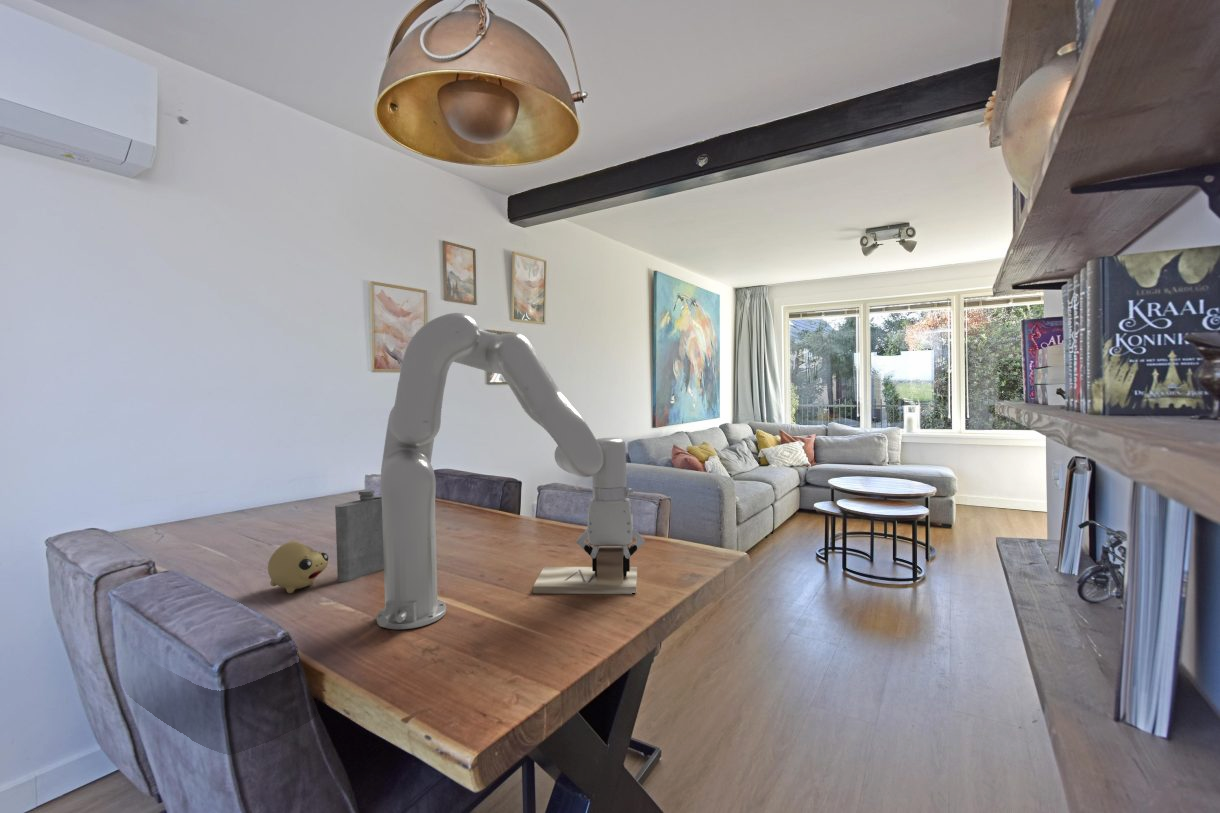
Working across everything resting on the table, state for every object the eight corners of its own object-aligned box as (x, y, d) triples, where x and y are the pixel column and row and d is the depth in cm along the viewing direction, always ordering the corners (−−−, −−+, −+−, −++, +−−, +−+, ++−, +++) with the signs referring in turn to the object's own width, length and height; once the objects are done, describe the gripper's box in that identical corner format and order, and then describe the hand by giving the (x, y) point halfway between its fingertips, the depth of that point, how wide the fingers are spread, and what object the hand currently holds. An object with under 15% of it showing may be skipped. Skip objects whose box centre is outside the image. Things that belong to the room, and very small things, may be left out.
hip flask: (342, 583, 126) (339, 496, 125) (333, 579, 128) (330, 494, 128) (403, 564, 139) (401, 485, 138) (394, 561, 141) (391, 484, 141)
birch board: (636, 593, 116) (636, 586, 116) (533, 593, 117) (532, 586, 117) (637, 573, 129) (637, 566, 128) (544, 573, 130) (544, 566, 130)
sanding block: (622, 584, 117) (622, 556, 117) (597, 583, 118) (596, 556, 117) (624, 568, 127) (624, 543, 127) (601, 568, 128) (600, 543, 127)
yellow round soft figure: (302, 600, 116) (300, 550, 115) (258, 594, 119) (256, 546, 119) (337, 584, 125) (336, 537, 125) (296, 579, 129) (294, 534, 128)
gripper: (648, 490, 125) (649, 569, 126) (573, 490, 126) (575, 569, 127) (648, 496, 117) (649, 580, 118) (568, 497, 119) (570, 580, 119)
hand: (611, 573), depth 122 cm, fingers closed on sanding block, 5 cm apart
